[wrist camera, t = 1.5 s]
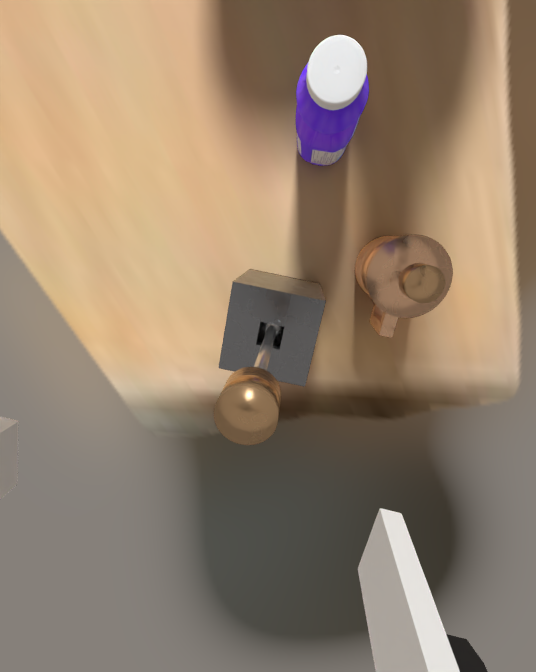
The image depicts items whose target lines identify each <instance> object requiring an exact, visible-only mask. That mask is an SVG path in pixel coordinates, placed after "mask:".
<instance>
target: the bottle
mask: <svg viewBox="0 0 536 672" xmlns="http://www.w3.org/2000/svg"><path fill="white" fill-rule="evenodd" d="M368 95H369V83H368V77H367V60H366V56H365V53H364V50H363V49H362V47H361V46H360V44H359V43H358V42H357V41H356V40H354V39H353V38H351V37H348V36H345V35H334V36H331V37H328V38H326V39H325V40H323V41H322V42H321V43H320V44H319V45H318V46H317V47H316V48H315V49H314V51H313V52H312V54H311V56H310V59H309V62H308V63H307V65H306V66H305V68H304V69H303V71H302V73H301V75H300V78H299V80H298V84H297V90H296V99H297V108H296V130H297V147H298V151H299V154H300V155H301V157H302V158H303V159H304V160H305V161H307V162H310V163H311V164H314V165H319V166H323V165H331V164H333V163H335V162H337V161H338V160H339V159H340V158H341V156H342V155H343V153H344V151H345V149H346V146H347V144H348V142H349V141H350V140H351V138H352V137H353V134H354V132H355V130H356V127H357V124H358V122H359V118H360V115H361V114H362V112H363V110H364V107H365V105H366V103H367V100H368Z"/></svg>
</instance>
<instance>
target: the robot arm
mask: <svg viewBox="0 0 536 672" xmlns="http://www.w3.org/2000/svg"><path fill="white" fill-rule="evenodd" d="M18 431H19V421H17V420H12V419H8V418H4V417H0V499H2V498H3V497H4V496H5V495H6V494H7V493H8V492H10V491H11V490H12V489H13V488H14V487H15V486H16V485H17V474H18V473H17V472H18ZM358 573H359V579H360V584H361V590H362V596H363V601H364V606H365V613H366V618H367V624H368V630H369V635H370V640H371V647H372V652H373V658H374V664H375V670H376V672H487V669H486V667H485V665H484V663H483V662H482V660H481V659H480V657H479V656H478V655H477V653H476V652H475V650H474V649H473V648H472V646H471V645H470V643H469V642H468V641H467V639H463V638H459V637H455V636H451V635H447V634H446V633H445V630H444V627H443V625H442V622H441V619H440V617H439V614H438V611H437V608H436V606H435V603H434V600H433V598H432V595H431V592H430V589H429V587H428V584H427V581H426V579H425V576H424V573H423V570H422V568H421V565H420V562H419V560H418V557H417V554H416V552H415V549H414V546H413V543H412V541H411V538H410V535H409V533H408V530H407V527H406V524H405V522H404V519H403V516H402V514H401V513H397V512H393V511H389V510H386V509H381V508H380V509H379V512H378V514H377V518H376V520H375V523H374V525H373V528H372V531H371V534H370V536H369V539H368V542H367V545H366V547H365V550H364V553H363V555H362V558H361V561H360V564H359V567H358Z"/></svg>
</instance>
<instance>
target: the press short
mask: <svg viewBox="0 0 536 672" xmlns="http://www.w3.org/2000/svg"><path fill="white" fill-rule="evenodd" d="M355 276H356V279H357V282H358V284H359V286H360V287H361V288H362V289H363V290H364V291H365V292H366V293H367V294H368V295H369V296H370V298H371V299H372V301H373V302H374V306H373V310H372V313H371V317H370V320H369V322H370V324H371V325H372V326H373V328H374V329H375V330H376V332H377V333H378V334H379V335H381V336H386V337H391V338H392V337H393V333H394V330H395V327H396V324H397V321H398V317H400V318H412V317H417V316H420V315H423V314H425V313H427V312H429V311H431V310H432V309H434V308H435V307H436V306H437V305H438V304H439V303H440V302H441V301H442V300H443V299H444V297H445V296H446V294H447V292H448V290H449V288H450V285H451V282H452V276H453V269H452V263H451V260H450V257H449V255H448V253H447V252H446V250H445V249H444V248H443V247H442V245H440V244H439V243H438V242H437V241H435V240H433V239H431V238H429V237H426V236H422V235H403V236H382V237H379V238H376V239H374V240H372V241H370V242H369V243H368V244H367V245H366V246H364V248H363V249H362V250H361V252H360V253H359V255H358V257H357V260H356V264H355Z"/></svg>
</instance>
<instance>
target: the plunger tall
mask: <svg viewBox="0 0 536 672" xmlns="http://www.w3.org/2000/svg"><path fill="white" fill-rule="evenodd" d="M283 331H284V327H283V326H279V325H274V324H269V323H264V322H261V324H260V329H259V335H258V340H257V342H261V343H262V345H261V348H260V350H259V353H258V356H257V359H256V362H255V365H254V367H245V368H241V369H239V370H237V371H235V372H234V373H233V374H232V375H231V376H230V377H229V379H228V380H227V382H226V384H225V386H224V388H223V390H222V392H221V394H220V396H219V398H218V400H217V402H216V405H215V408H214V420H215V424H216V426H217V428H218V429H219V431H220V432H221V433H222V435H224V436H225V437H226V438H227V439H229V440H231V441H232V442H235V443H237V444H242V445H255V444H258V443H261V442H263V441H265V440H267V439H268V438H269V437H270V436H271V435H272V434H273V433H274V431H275V429H276V427H277V424H278V417H279V409H280V401H281V389H280V385H279V383H278V381H277V380H276V378H275V377H274V376H273V375H272V374H271V373H269V372H268V371H267V367H268V363H269V359H270V355H271V351H272V347H273V345H275V346H280V345H281V340H282V336H283Z"/></svg>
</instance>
